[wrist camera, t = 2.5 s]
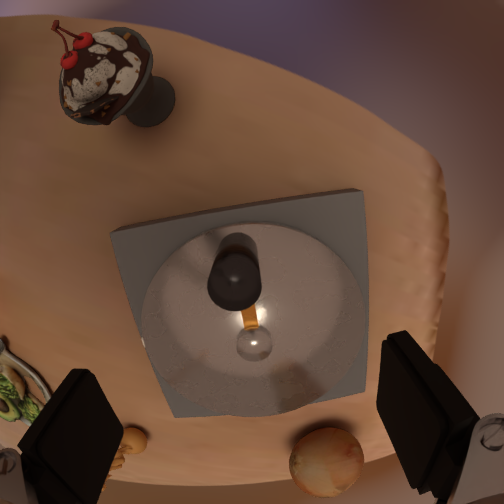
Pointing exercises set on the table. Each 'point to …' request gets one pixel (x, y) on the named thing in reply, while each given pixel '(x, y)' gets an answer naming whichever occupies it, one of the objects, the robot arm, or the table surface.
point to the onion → (326, 462)
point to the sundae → (112, 79)
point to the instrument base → (275, 210)
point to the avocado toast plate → (18, 389)
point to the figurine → (128, 447)
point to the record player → (253, 319)
